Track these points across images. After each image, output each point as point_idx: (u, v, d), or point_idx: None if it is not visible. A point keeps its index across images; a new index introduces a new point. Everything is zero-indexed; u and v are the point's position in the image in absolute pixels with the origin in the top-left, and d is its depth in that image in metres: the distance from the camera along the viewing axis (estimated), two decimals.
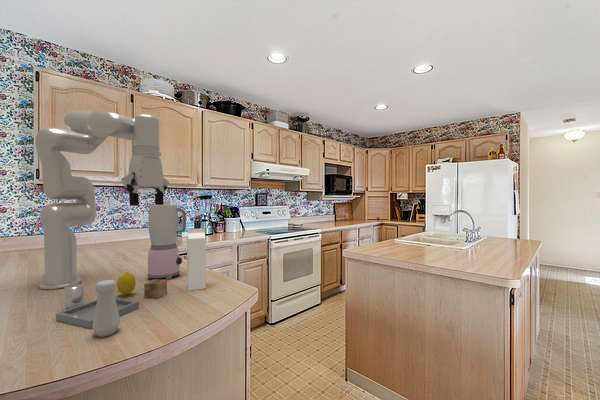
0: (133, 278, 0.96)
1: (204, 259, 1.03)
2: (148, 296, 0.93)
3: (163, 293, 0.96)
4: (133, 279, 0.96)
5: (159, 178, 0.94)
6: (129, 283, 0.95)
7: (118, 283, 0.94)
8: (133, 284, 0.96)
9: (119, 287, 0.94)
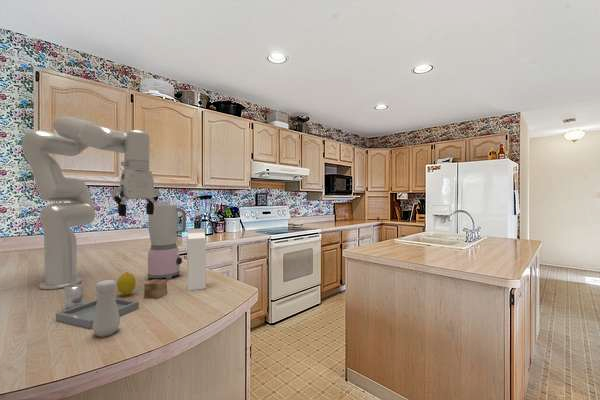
0: (133, 278, 0.96)
1: (204, 259, 1.03)
2: (148, 296, 0.93)
3: (163, 293, 0.96)
4: (133, 279, 0.96)
5: None
6: (129, 283, 0.95)
7: (118, 283, 0.94)
8: (133, 284, 0.96)
9: (119, 287, 0.94)
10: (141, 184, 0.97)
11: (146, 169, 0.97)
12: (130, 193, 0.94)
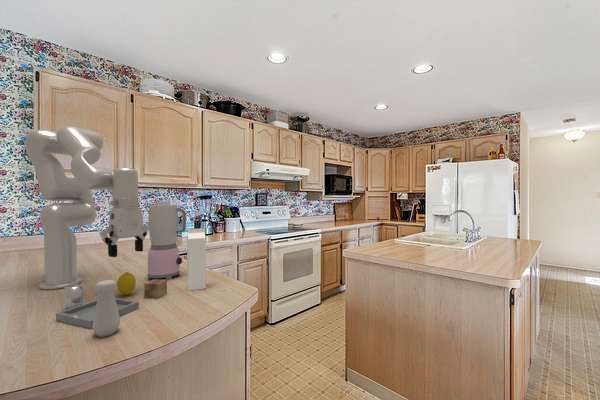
0: (133, 278, 0.96)
1: (204, 259, 1.03)
2: (148, 296, 0.93)
3: (163, 293, 0.96)
4: (133, 279, 0.96)
5: None
6: (129, 283, 0.95)
7: (118, 283, 0.94)
8: (133, 284, 0.96)
9: (119, 287, 0.94)
10: (131, 222, 0.95)
11: (136, 207, 0.96)
12: (121, 233, 0.92)
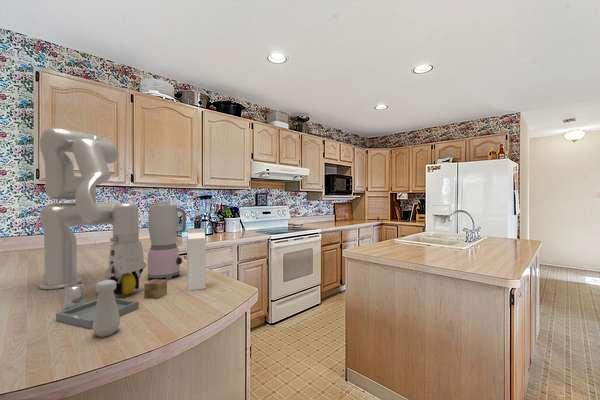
0: (133, 278, 0.96)
1: (204, 259, 1.03)
2: (148, 296, 0.93)
3: (163, 293, 0.96)
4: (133, 279, 0.96)
5: None
6: (129, 283, 0.95)
7: None
8: (133, 284, 0.96)
9: None
10: (131, 257, 0.95)
11: (136, 242, 0.96)
12: (121, 269, 0.92)
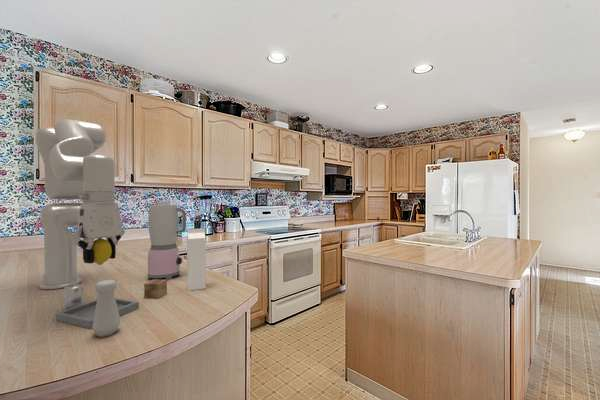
0: (108, 245, 0.81)
1: (204, 259, 1.03)
2: (148, 296, 0.93)
3: (163, 293, 0.96)
4: (108, 246, 0.81)
5: None
6: (103, 250, 0.80)
7: None
8: (108, 252, 0.81)
9: None
10: (105, 219, 0.80)
11: (111, 201, 0.81)
12: (92, 232, 0.77)
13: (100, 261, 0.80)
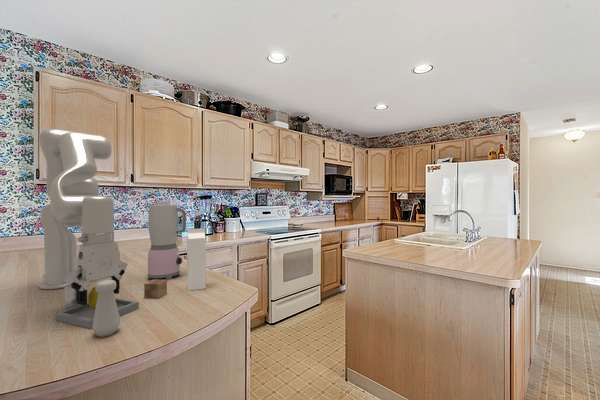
0: None
1: (204, 259, 1.03)
2: (148, 296, 0.93)
3: (163, 293, 0.96)
4: None
5: None
6: None
7: (89, 297, 0.79)
8: None
9: (90, 302, 0.79)
10: (104, 261, 0.80)
11: (111, 242, 0.81)
12: (91, 275, 0.76)
13: None
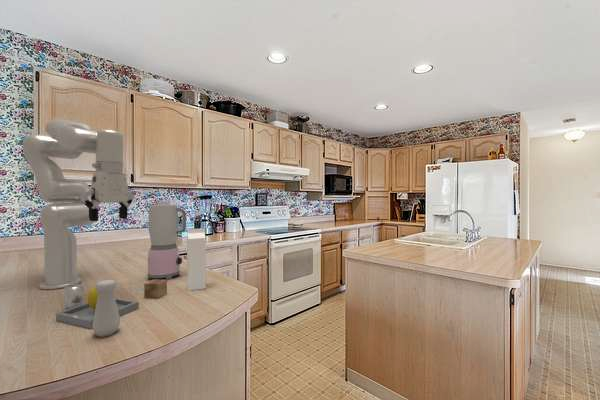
0: None
1: (204, 259, 1.03)
2: (148, 296, 0.93)
3: (163, 293, 0.96)
4: None
5: None
6: None
7: (89, 297, 0.79)
8: None
9: (90, 302, 0.79)
10: (114, 187, 0.92)
11: (120, 171, 0.92)
12: (103, 197, 0.88)
13: None
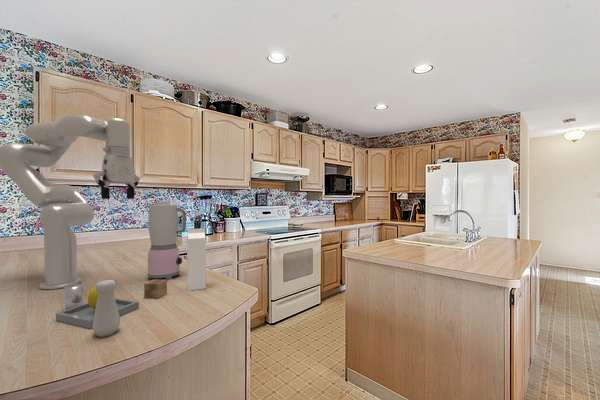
0: None
1: (204, 259, 1.03)
2: (148, 296, 0.93)
3: (163, 293, 0.96)
4: None
5: None
6: None
7: (89, 297, 0.79)
8: None
9: (90, 302, 0.79)
10: (123, 169, 1.03)
11: (127, 155, 1.04)
12: (113, 177, 1.00)
13: None
